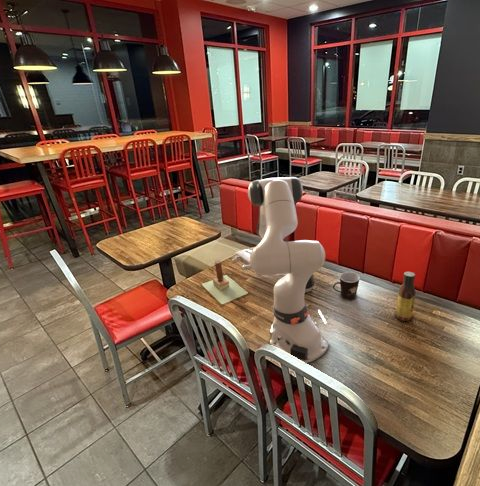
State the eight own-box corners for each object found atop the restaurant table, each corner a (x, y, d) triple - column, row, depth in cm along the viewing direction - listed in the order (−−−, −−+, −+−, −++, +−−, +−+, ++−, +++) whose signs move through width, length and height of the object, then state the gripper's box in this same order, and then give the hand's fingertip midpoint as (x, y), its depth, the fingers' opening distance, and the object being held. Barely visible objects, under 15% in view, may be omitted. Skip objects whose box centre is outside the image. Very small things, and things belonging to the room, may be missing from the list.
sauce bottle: (413, 322, 122) (420, 279, 114) (396, 321, 124) (402, 278, 115) (410, 312, 128) (417, 270, 120) (394, 311, 129) (400, 269, 121)
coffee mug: (356, 290, 144) (358, 272, 140) (359, 301, 136) (361, 282, 132) (331, 290, 145) (332, 271, 141) (332, 301, 137) (333, 282, 133)
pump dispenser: (315, 295, 142) (315, 266, 135) (292, 296, 142) (292, 267, 136) (313, 283, 151) (313, 255, 145) (292, 284, 152) (291, 256, 145)
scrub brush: (229, 286, 151) (226, 262, 146) (220, 290, 148) (216, 266, 143) (222, 281, 156) (218, 257, 151) (213, 284, 153) (209, 261, 148)
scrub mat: (248, 294, 146) (248, 293, 145) (221, 305, 138) (221, 304, 138) (226, 275, 162) (226, 274, 162) (201, 285, 155) (201, 284, 154)
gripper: (249, 244, 167) (226, 252, 160) (271, 257, 152) (247, 266, 145) (250, 254, 170) (227, 262, 163) (271, 268, 155) (248, 278, 148)
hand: (237, 264), depth 154 cm, fingers open, 8 cm apart
